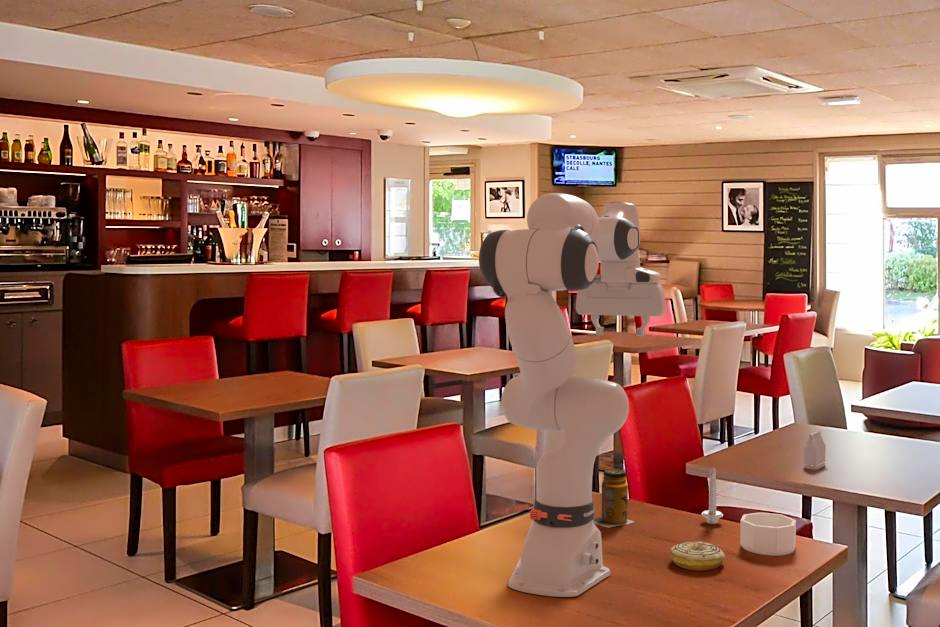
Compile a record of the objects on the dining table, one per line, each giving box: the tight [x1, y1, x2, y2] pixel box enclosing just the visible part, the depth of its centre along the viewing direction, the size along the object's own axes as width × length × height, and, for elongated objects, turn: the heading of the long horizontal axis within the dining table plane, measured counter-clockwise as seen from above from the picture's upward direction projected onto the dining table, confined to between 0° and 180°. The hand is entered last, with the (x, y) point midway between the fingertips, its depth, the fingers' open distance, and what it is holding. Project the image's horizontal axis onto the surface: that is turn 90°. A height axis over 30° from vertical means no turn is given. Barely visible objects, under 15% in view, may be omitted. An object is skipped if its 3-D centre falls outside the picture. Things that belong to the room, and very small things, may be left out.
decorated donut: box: [670, 541, 726, 572], centre depth 195 cm, size 10×11×4 cm
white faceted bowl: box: [739, 511, 797, 557], centre depth 205 cm, size 11×11×6 cm
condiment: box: [593, 468, 635, 529], centre depth 225 cm, size 7×8×12 cm
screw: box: [701, 467, 724, 525], centre depth 223 cm, size 13×5×5 cm
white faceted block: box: [803, 431, 826, 471], centre depth 278 cm, size 4×7×10 cm, turn 139°
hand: (620, 335), depth 217 cm, fingers open, 8 cm apart
